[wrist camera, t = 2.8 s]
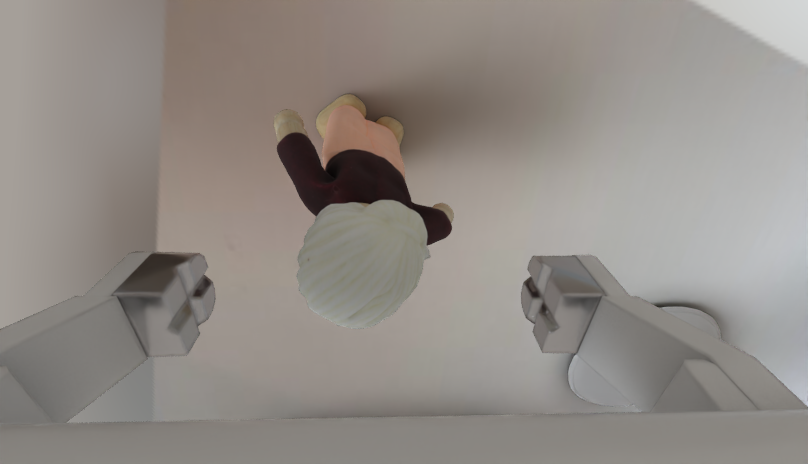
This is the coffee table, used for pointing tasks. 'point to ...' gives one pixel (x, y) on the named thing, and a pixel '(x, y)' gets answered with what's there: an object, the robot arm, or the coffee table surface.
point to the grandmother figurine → (357, 214)
